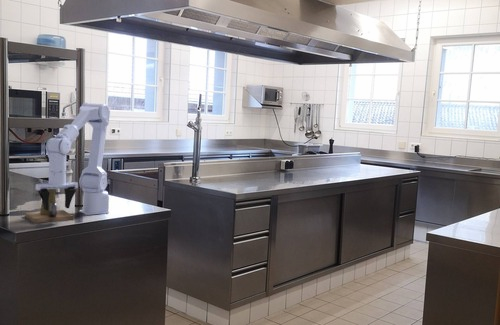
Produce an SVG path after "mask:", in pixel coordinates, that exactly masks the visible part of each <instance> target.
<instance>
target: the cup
mask: <svg viewBox="0 0 500 325" xmlns="http://www.w3.org/2000/svg"><path fill="white" fill-rule="evenodd" d="M73 172H74V171H73V170H72V168H66V182H72V180H73V179H72V178H73ZM64 189H65V188H64ZM64 189H58V190H59V193H60V194H64V195H65V190H64Z"/></svg>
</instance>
